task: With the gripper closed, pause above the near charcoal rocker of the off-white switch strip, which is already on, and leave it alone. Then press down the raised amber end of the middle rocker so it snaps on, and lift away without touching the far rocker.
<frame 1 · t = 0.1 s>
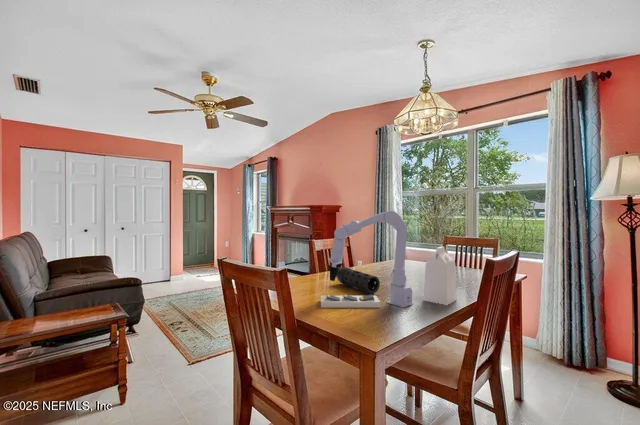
hand: (333, 278, 151), 11 cm above the table, tool pointing down, fingers open, 7 cm apart
black foam roller: (356, 289, 171), on the table
near rocker: (366, 298, 144), point 3 cm above the table, hinge at 15.0°
far rocker: (332, 298, 144), point 3 cm above the table, hinge at -15.0°
middle rocker: (350, 298, 144), point 3 cm above the table, hinge at -15.0°
switch strip: (349, 303, 145), on the table
milk: (440, 300, 151), on the table
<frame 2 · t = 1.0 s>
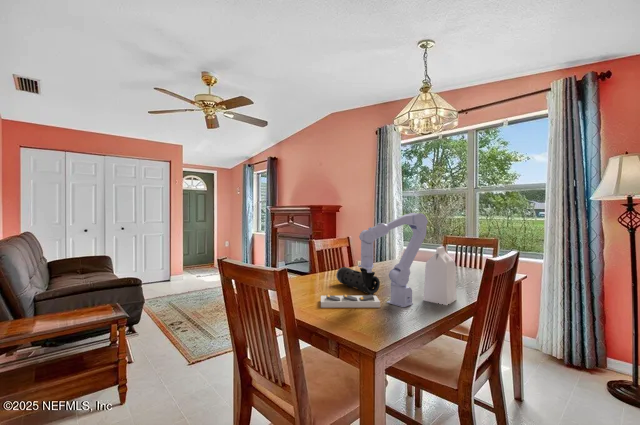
hand: (367, 284, 144), 9 cm above the table, tool pointing down, fingers open, 6 cm apart
nothing on the table moved.
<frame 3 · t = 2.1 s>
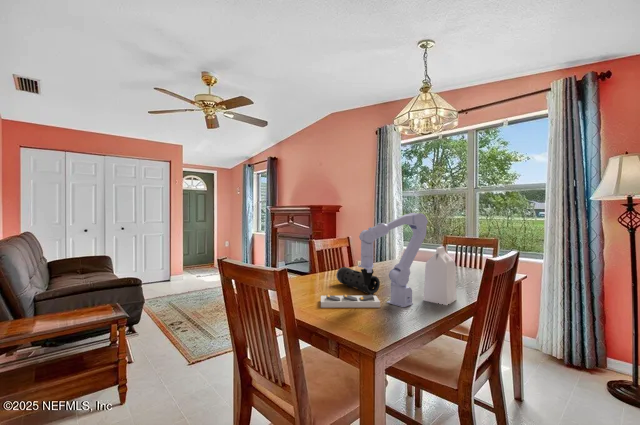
hand: (367, 284, 144), 9 cm above the table, tool pointing down, fingers closed
nothing on the table moved.
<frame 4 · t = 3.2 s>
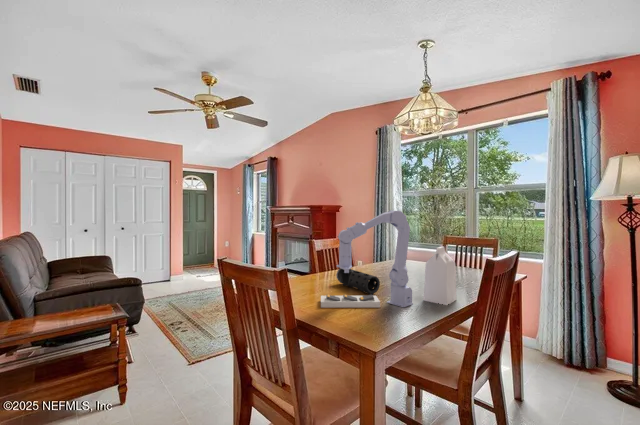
hand: (345, 285, 143), 9 cm above the table, tool pointing down, fingers closed
nothing on the table moved.
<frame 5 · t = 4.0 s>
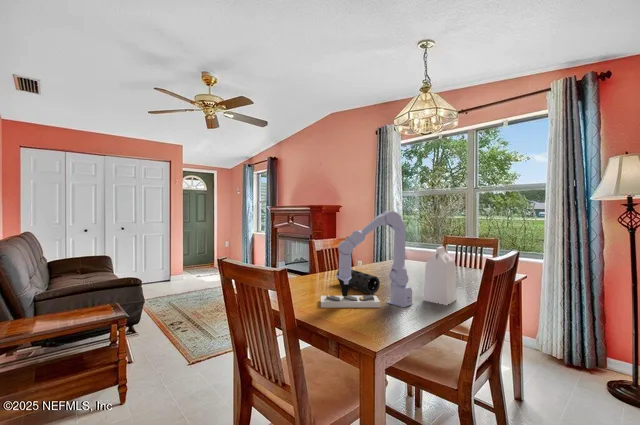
hand: (344, 295, 144), 4 cm above the table, tool pointing down, fingers closed, pressing on middle rocker
middle rocker: (350, 298, 144), point 3 cm above the table, hinge at -14.8°, touching gripper
everything else where it was.
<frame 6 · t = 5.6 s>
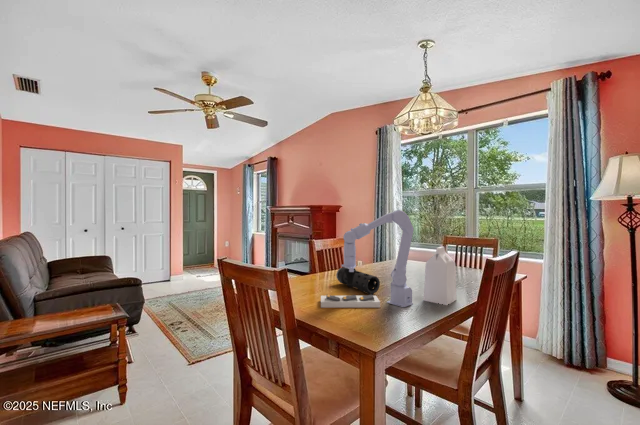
hand: (349, 283, 149), 8 cm above the table, tool pointing down, fingers closed
middle rocker: (349, 298, 144), point 3 cm above the table, hinge at 9.6°
everything else where it was.
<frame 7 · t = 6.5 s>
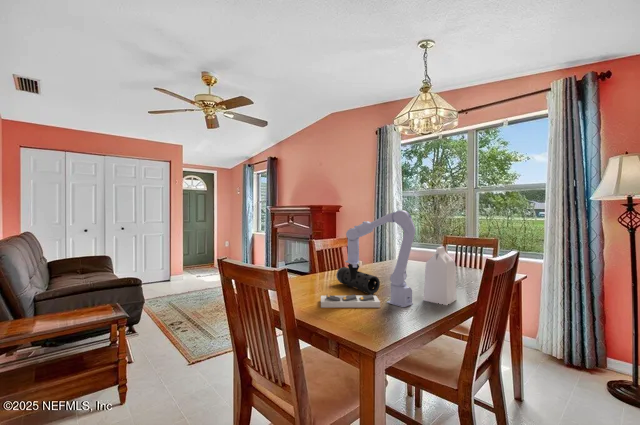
hand: (353, 279, 155), 9 cm above the table, tool pointing down, fingers closed
middle rocker: (349, 298, 144), point 3 cm above the table, hinge at 15.1°
everything else where it was.
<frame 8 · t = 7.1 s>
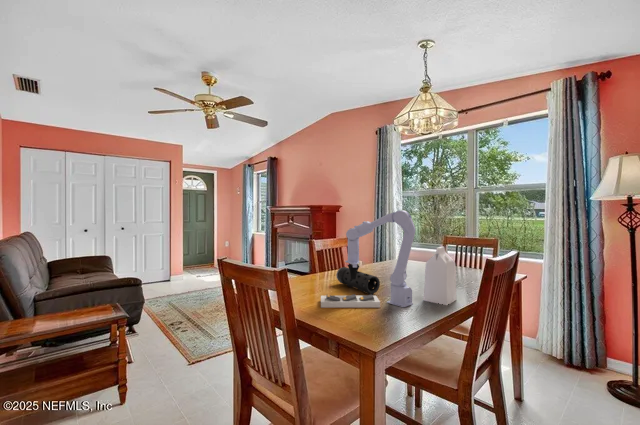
hand: (353, 279, 155), 9 cm above the table, tool pointing down, fingers closed
middle rocker: (349, 298, 144), point 3 cm above the table, hinge at 17.8°
everything else where it was.
at the end: middle rocker at +18° (first picture: -15°); near rocker at +15° (first picture: +15°); far rocker at -15° (first picture: -15°) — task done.
